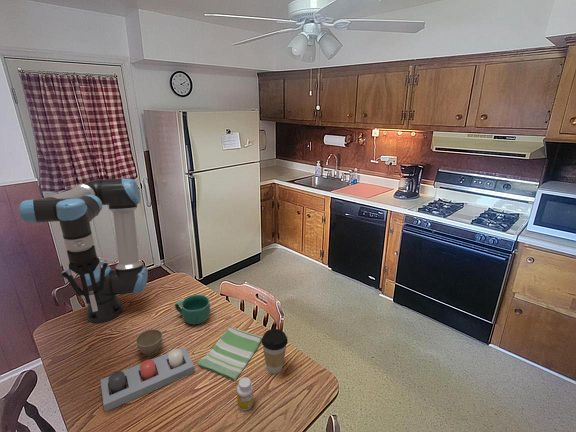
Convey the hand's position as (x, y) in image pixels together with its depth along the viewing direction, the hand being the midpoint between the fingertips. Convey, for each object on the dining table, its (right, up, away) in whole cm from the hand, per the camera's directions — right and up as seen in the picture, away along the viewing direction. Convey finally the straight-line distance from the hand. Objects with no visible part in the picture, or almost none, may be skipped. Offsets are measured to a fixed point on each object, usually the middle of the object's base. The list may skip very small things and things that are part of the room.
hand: (95, 309), depth 107 cm
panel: (+15, -28, +9) cm, 33 cm away
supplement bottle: (+52, -33, 0) cm, 61 cm away
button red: (+15, -28, +8) cm, 33 cm away
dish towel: (+43, -25, +22) cm, 54 cm away
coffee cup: (+61, -27, +15) cm, 69 cm away
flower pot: (+10, -24, +21) cm, 34 cm away
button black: (+7, -30, +3) cm, 30 cm away
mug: (+21, -17, +41) cm, 50 cm away
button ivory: (+23, -26, +14) cm, 38 cm away
